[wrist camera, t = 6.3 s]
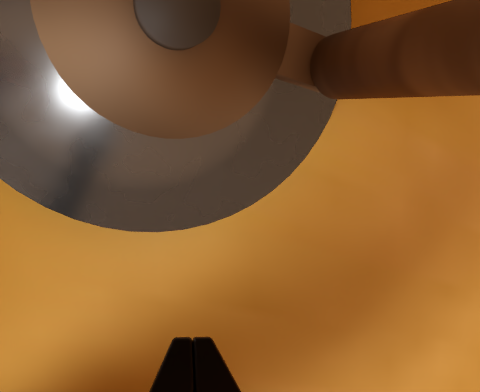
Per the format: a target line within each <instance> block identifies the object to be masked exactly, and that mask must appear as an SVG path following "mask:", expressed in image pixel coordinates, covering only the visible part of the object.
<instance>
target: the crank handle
mask: <svg viewBox="0 0 480 392" xmlns="http://www.w3.org/2000/svg"><path fill="white" fill-rule="evenodd" d="M30 4H31V9H32V14H33V19H34V22H35V25H36V28H37V31H38V34H39V38H40V40H41V42H42V44H43V46H44V48H45V51H46V53H47V55H48V57H49V59H50V61H51V62H52V64H53V66H54V67H55V69H56V70H57V72H58V74H59V75H60V77H61V78H62V79H63V81H64V82H65V83H66V84H67V86H68V87H69V88H70V89H71V91H72V92H73V93H74V94H75V95H76V96H77V97H78V98H79V99H80V100H82V101H83V102H84V103H85V104H86V105H87V106H88V107H90V108H91V109H92V110H94V111H95V112H96V113H98V114H99V115H100V116H102V117H104V118H106V119H107V120H109V121H111V122H112V123H114V124H117V125H119V126H121V127H124V128H126V129H128V130H131V131H133V132H136V133H140V134H143V135H147V136H151V137H158V138H165V139H185V138H193V137H199V136H203V135H207V134H211V133H213V132H216V131H218V130H221V129H223V128H225V127H227V126H229V125H231V124H232V123H234V122H236V121H237V120H239V119H240V118H241V117H243V116H244V115H245V114H247V113H248V112H249V111H250V110H251V109H252V108H253V107H254V106H255V105H256V104H257V103H258V102H259V101H260V100H261V98H262V97H263V96H264V95H265V93H266V92H267V91H268V89H269V88H270V86H271V84H272V82H273V81H274V79H278V80H281V81H285V82H288V83H291V84H294V85H297V86H300V87H303V88H306V89H309V90H312V91H315V92H320V93H322V94H323V95H324V96H326V97H328V98H331V99H364V98H398V97H432V96H466V95H480V0H452V1H449V2H445V3H441V4H438V5H434V6H431V7H427V8H424V9H420V10H417V11H413V12H410V13H406V14H403V15H399V16H395V17H392V18H388V19H385V20H381V21H378V22H374V23H371V24H367V25H364V26H360V27H356V28H353V29H349V30H346V31H342V32H339V33H335V34H332V35H329V36H327V37H326V36H323V35H321V34H318V33H316V32H313V31H311V30H308V29H306V28H303V27H301V26H298V25H295V24H293V23H290V0H30Z"/></svg>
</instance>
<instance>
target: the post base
mask: <svg viewBox="0 0 480 392" xmlns="http://www.w3.org/2000/svg"><path fill="white" fill-rule="evenodd" d="M290 23H293V24H295V25H298V26H301V27H303V28H306V29H308V30H311V31H313V32H316V33H318V34H321V35H323V36H326V37H327V36H329V35H332V34H335V33H339V32H342V31H346V30H349V29H351V1H350V0H290ZM336 101H337V99H331V98H328V97H326V96H324V95H323V94H322V93H320V92H315V91H312V90H309V89H306V88H303V87H300V86H297V85H294V84H291V83H288V82H285V81H281V80H278V79H274V81H273V82H272V84H271V86H270V88H269V89H268V91H267V92H266V93H265V95H264V96H263V97H262V98H261V100H260V101H259V102H258V103H257V104H256V105H255V106H254V107H253V108H252V109H251V110H250V111H249V112H248V113H247V114H245V115H244V116H243V117H241V118H240V119H239V120H237V121H236V122H234V123H232V124H231V125H229V126H227V127H225V128H223V129H221V130H218V131H216V132H213V133H211V134H207V135H203V136H199V137H193V138H185V139H165V138H158V137H151V136H147V135H143V134H140V133H136V132H133V131H131V130H128V129H126V128H124V127H121V126H119V125H117V124H114V123H112V122H111V121H109V120H107V119H106V118H104V117H102V116H100V115H99V114H98V113H96V112H95V111H94V110H92V109H91V108H90V107H88V106H87V105H86V104H85V103H84V102H83V101H82V100H80V99H79V98H78V97H77V96H76V95H75V94H74V93H73V92H72V91H71V89H70V88H69V87H68V86H67V84H66V83H65V82H64V81H63V79H62V78H61V77H60V75H59V74H58V72H57V70H56V69H55V67H54V66H53V64H52V62H51V61H50V59H49V57H48V55H47V53H46V51H45V48H44V46H43V44H42V42H41V40H40V38H39V34H38V31H37V28H36V25H35V22H34V19H33V14H32V9H31V4H30V0H0V179H2V180H3V181H4V182H6V183H7V184H8V185H10V186H11V187H12V188H14V189H15V190H16V191H18V192H20V193H22V194H23V195H25V196H27V197H29V198H30V199H32V200H34V201H36V202H37V203H39V204H41V205H43V206H44V207H46V208H49V209H51V210H54V211H56V212H58V213H61V214H63V215H65V216H68V217H70V218H73V219H76V220H79V221H83V222H86V223H90V224H93V225H97V226H100V227H105V228H112V229H118V230H125V231H137V232H163V231H173V230H184V229H188V228H192V227H197V226H201V225H205V224H209V223H212V222H215V221H217V220H220V219H223V218H226V217H228V216H231V215H233V214H235V213H237V212H239V211H241V210H243V209H245V208H247V207H249V206H250V205H252V204H254V203H255V202H257V201H258V200H260V199H261V198H263V197H264V196H266V195H267V194H268V193H270V192H271V191H273V190H274V189H275V188H276V187H277V186H278V185H279V184H281V183H282V182H283V181H284V180H285V179H286V178H287V177H288V176H290V174H291V173H292V172H293V171H294V170H295V169H296V168H297V167H298V165H299V164H300V163H301V162H302V161H303V160H304V159H305V157H306V156H307V155H308V153H309V152H310V150H311V149H312V147H313V146H314V145H315V143H316V142H317V140H318V139H319V137H320V135H321V133H322V131H323V129H324V128H325V126H326V124H327V122H328V120H329V118H330V116H331V113H332V111H333V109H334V106H335V104H336Z"/></svg>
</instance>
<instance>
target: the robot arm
mask: <svg viewBox="0 0 480 392" xmlns="http://www.w3.org/2000/svg"><path fill="white" fill-rule="evenodd" d="M149 392H241V391H240V389H239V387H238V385H237V383H236V382H235V380H234V378H233V376H232V374H231V372H230V371H229V369H228V367H227V365H226V363H225V361H224V360H223V358H222V356H221V354H220V352H219V350H218V349H217V347H216V345H215V343H214V341H213V340H212V338H210V337H195V338H193V340H192V339H191V338H190V337H176V338H174V339H173V340H172V342H171V344H170V346H169V349H168V351H167V353H166V355H165V357H164V360H163V362H162V364H161V366H160V369H159V371H158V373H157V375H156V378H155V380H154V382H153V384H152V387H151V389H150V391H149Z"/></svg>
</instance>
